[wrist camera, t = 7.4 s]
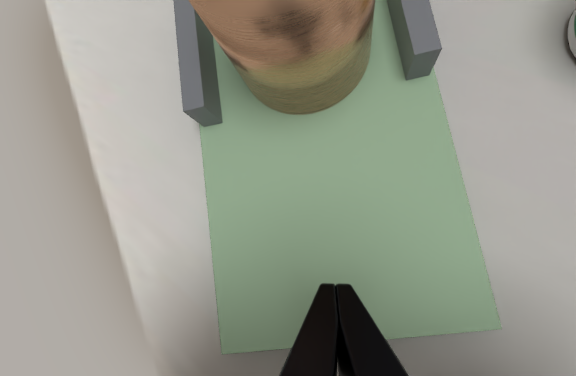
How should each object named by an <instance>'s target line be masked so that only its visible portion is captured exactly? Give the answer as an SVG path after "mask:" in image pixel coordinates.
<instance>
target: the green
mask: <svg viewBox="0 0 576 376" xmlns="http://www.w3.org/2000/svg"><path fill="white" fill-rule="evenodd" d="M213 41H214V50H215V59H216V68H217V77H218V86H219V94H220V103H221V112H222V121H223V123H220V124H216V125H212V126H207V127H203V126H202V125H201V124H199V126H200V136H201V147H202V157H203V167H204V178H205V188H206V198H207V209H208V219H209V229H210V239H211V250H212V260H213V270H214V281H215V291H216V301H217V312H218V322H219V332H220V342H221V353H222V354H233V353H244V352H255V351H266V350H277V349H288V348H292V346H293V344H294V341H295V339H296V337H297V335H298V332H299V330H300V328H301V326H302V323H303V321H304V319H305V317H306V314H307V312H308V310H309V308H310V305H311V303H312V301H313V299H314V296H315V294H316V292H317V290H318V288H319V285H320V284H321V283H334V284H335V286H336V284H338V283H348V284H351V285H352V287H353V288H354V290H355V292H356V293H357V295H358V296H359V298H360V299H361V301H362V303H363V304H364V306H365V307H366V309H367V310H368V312H369V314H370V315H371V317H372V318H373V320H374V322H375V323H376V325H377V326H378V328H379V329H380V331H381V333H382V334H383V336H384V337H385V339H386V340H387V339H398V338H409V337H420V336H431V335H442V334H453V333H464V332H475V331H486V330H497V329H502V327H501V324H500V320H499V316H498V312H497V308H496V305H495V301H494V297H493V293H492V289H491V285H490V282H489V278H488V274H487V270H486V266H485V262H484V259H483V255H482V251H481V247H480V243H479V240H478V236H477V232H476V228H475V224H474V220H473V217H472V213H471V209H470V205H469V201H468V197H467V194H466V190H465V186H464V182H463V178H462V174H461V171H460V167H459V163H458V159H457V155H456V152H455V148H454V144H453V140H452V136H451V132H450V129H449V125H448V121H447V117H446V113H445V109H444V106H443V102H442V98H441V94H440V90H439V87H438V83H437V79H436V75H435V71H434V67H433V68H432V70H431V73H430V75H428V76H424V77H419V78H415V79H411V80H406V79H405V75H404V71H403V66H402V62H401V58H400V54H399V50H398V46H397V41H396V37H395V33H394V29H393V25H392V21H391V16H390V12H389V8H388V4H387V0H375V9H374V19H373V30H372V40H371V50H370V58H369V63H368V66H367V69H366V71H365V73H364V75H363V77H362V79H361V81H360V82H359V84H358V85H357V86H356V88H355V89H354V90H353V91H352V92H351V93H350V94H349V95H348V96H347V97H346V98H345V99H343V100H342V101H340V102H339V103H337V104H336V105H334V106H332V107H330V108H328V109H325V110H323V111H320V112H316V113H313V114H305V115H292V114H285V113H281V112H278V111H276V110H273V109H271V108H269V107H267V106H266V105H264V104H263V103H262V102H260V101H259V100H258V99H257V98H256V97H255V96H254V95H253V93H252V92H251V90H250V89H249V88H248V86H247V85H246V83H245V82H244V80H243V79H242V77H241V76H240V74H239V73H238V72H237V70H236V69H235V67H234V66H233V64H232V63H231V61H230V60H229V59H228V57H227V56H226V54H225V53H224V51H223V50H222V48H221V47H220V45H219V44H218V43H217V41H216V40H215V38H214V37H213Z"/></svg>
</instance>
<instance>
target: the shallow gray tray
mask: <svg viewBox="0 0 576 376" xmlns="http://www.w3.org/2000/svg"><path fill="white" fill-rule="evenodd" d="M387 4H388V8H389V12H390V16H391V21H392V25H393V29H394V33H395V37H396V41H397V46H398V50H399V54H400V58H401V62H402V66H403V71H404V75H405V79H406V80H411V79H415V78H419V77H424V76H428V75H430V73H431V70H432V68H433V66H434V64H435V62H436V60H437V58H438V56H439V53H440V51H441V49H442V47H441V43H440V39H439V36H438V32H437V28H436V24H435V21H434V17H433V13H432V10H431V6H430V2H429V0H387ZM174 12H175V23H176V35H177V46H178V58H179V69H180V81H181V92H182V104H183V112H185V113H186V114H187V115H189V116H190V117H191V118H193V119H194V120H195V121H197V122H198V123H199V124H201V125H202V126H203V127H207V126H212V125H216V124H220V123H223V121H222V112H221V103H220V94H219V86H218V77H217V68H216V59H215V50H214V41H213V35H212V34H211V32H210V31H209V30H208V28H207V27H206V25H205V24H204V22H203V21H202V19H201V18H200V16H199V15H198V14H197V12H196V11H195V9H194V8H193V6H192V5H191V3H190V2H189V0H174Z"/></svg>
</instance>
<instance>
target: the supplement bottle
mask: <svg viewBox="0 0 576 376" xmlns="http://www.w3.org/2000/svg"><path fill="white" fill-rule="evenodd" d="M568 41H569V46H570V49H571V51H572V53H573V55H574V56H575V58H576V10H575V11H574V12H573V14H572V16H571V18H570V21H569V26H568Z"/></svg>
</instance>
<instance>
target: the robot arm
mask: <svg viewBox="0 0 576 376" xmlns="http://www.w3.org/2000/svg"><path fill="white" fill-rule="evenodd" d="M337 362H338V372H339V376H409V375H408V374H407V372H406V371H405V369H404V367H403V366H402V364H401V363H400V361H399V359H398V358H397V356H396V355H395V353H394V352H393V350H392V348H391V347H390V345H389V344H388V342H387V340H386V339H385V337H384V336H383V334H382V333H381V331H380V329H379V328H378V326H377V325H376V323H375V322H374V320H373V318H372V317H371V315H370V314H369V312H368V310H367V309H366V307H365V306H364V304H363V303H362V301H361V299H360V298H359V296H358V295H357V293H356V292H355V290H354V288H353V287H352V285H351V284H348V283H338V284H336V286H335V284H334V283H321V284H320V285H319V288H318V290H317V292H316V294H315V296H314V299H313V301H312V303H311V305H310V308H309V310H308V312H307V314H306V317H305V319H304V321H303V323H302V326H301V328H300V330H299V332H298V335H297V337H296V339H295V341H294V344H293V346H292V348H291V350H290V353H289V355H288V357H287V359H286V362H285V364H284V366H283V368H282V371H281V373H280V375H279V376H337Z"/></svg>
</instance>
